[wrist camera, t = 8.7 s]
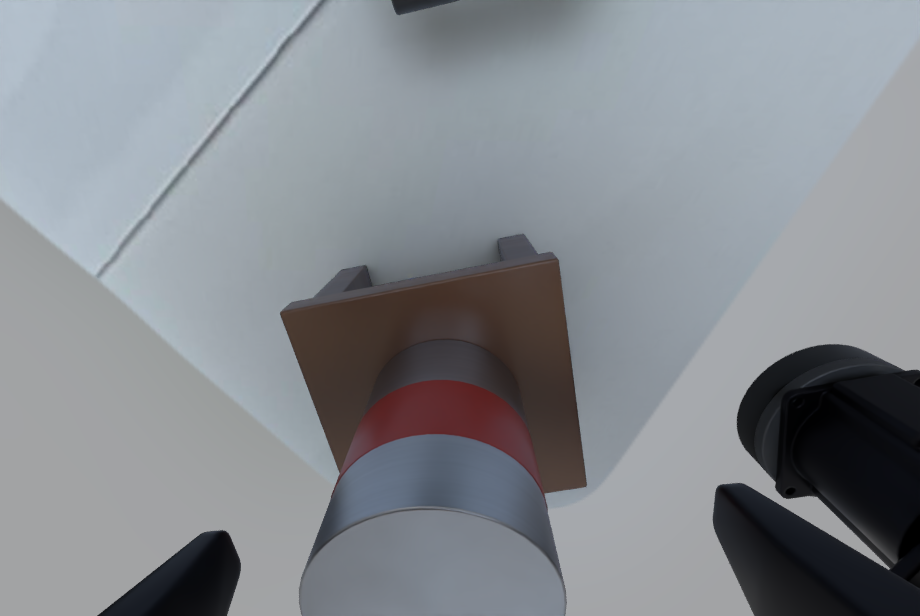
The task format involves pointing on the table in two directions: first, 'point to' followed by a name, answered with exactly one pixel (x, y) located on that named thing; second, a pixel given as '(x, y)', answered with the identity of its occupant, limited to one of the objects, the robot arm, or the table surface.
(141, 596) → the robot arm
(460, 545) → the can
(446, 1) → the drawer
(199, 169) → the table surface
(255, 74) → the table surface
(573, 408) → the stool
